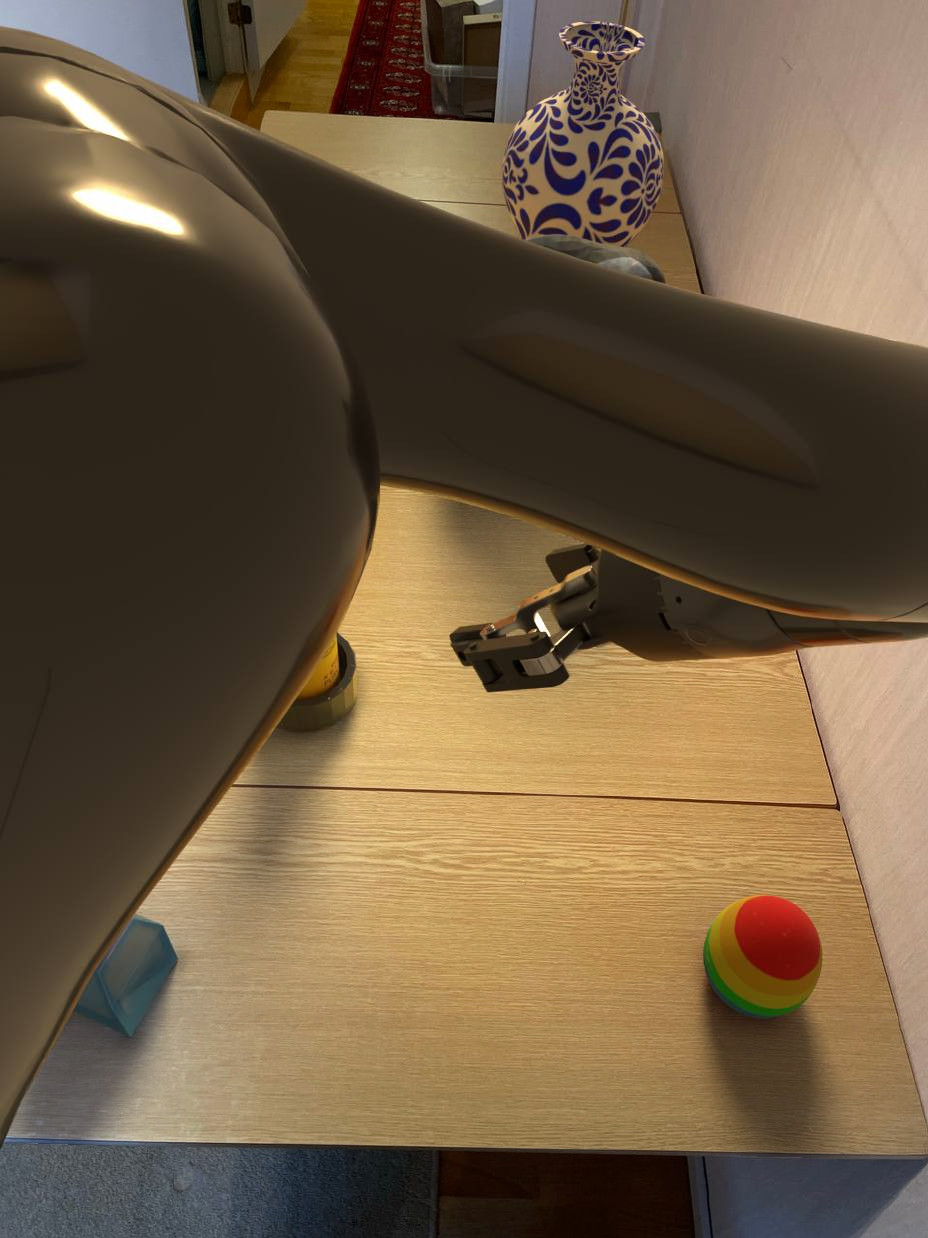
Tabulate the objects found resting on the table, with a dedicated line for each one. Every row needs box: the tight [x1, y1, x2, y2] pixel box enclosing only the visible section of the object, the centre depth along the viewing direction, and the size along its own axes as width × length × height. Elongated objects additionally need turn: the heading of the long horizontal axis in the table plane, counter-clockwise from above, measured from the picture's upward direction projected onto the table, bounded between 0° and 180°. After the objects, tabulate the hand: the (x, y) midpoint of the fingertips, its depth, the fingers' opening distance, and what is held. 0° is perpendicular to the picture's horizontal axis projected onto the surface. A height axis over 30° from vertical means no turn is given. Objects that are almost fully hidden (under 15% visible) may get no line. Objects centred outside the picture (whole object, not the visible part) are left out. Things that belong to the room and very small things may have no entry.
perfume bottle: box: [73, 912, 179, 1038], centre depth 68 cm, size 6×6×12 cm
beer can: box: [295, 635, 340, 700], centre depth 84 cm, size 6×6×15 cm
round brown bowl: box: [276, 631, 358, 734], centre depth 89 cm, size 9×9×4 cm
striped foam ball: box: [702, 894, 823, 1019], centre depth 71 cm, size 8×8×10 cm
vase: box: [501, 20, 665, 247], centre depth 130 cm, size 22×22×30 cm
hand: (508, 606), depth 58 cm, fingers open, 8 cm apart
